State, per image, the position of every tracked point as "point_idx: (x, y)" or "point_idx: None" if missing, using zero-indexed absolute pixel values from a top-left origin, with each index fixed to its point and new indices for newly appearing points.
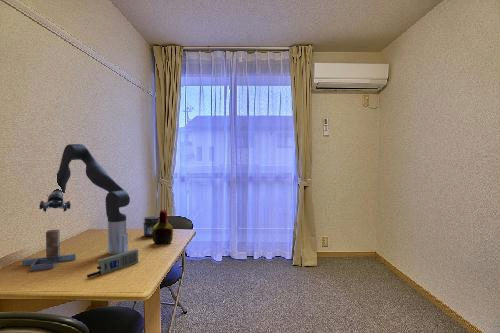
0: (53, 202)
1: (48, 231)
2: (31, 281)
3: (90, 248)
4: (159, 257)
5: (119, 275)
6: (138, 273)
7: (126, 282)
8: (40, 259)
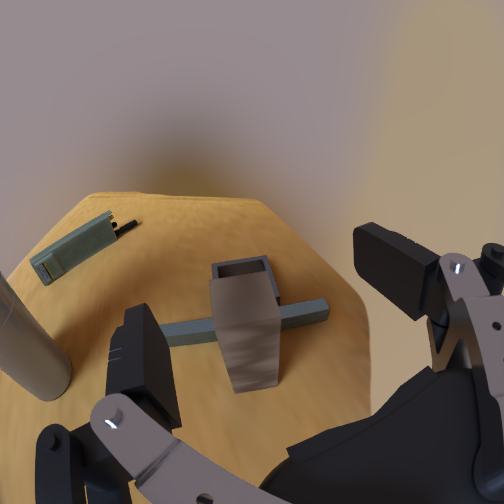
0: (477, 452)
1: (263, 289)
2: (234, 224)
3: None
4: None
5: None
6: None
7: (93, 214)
8: None
